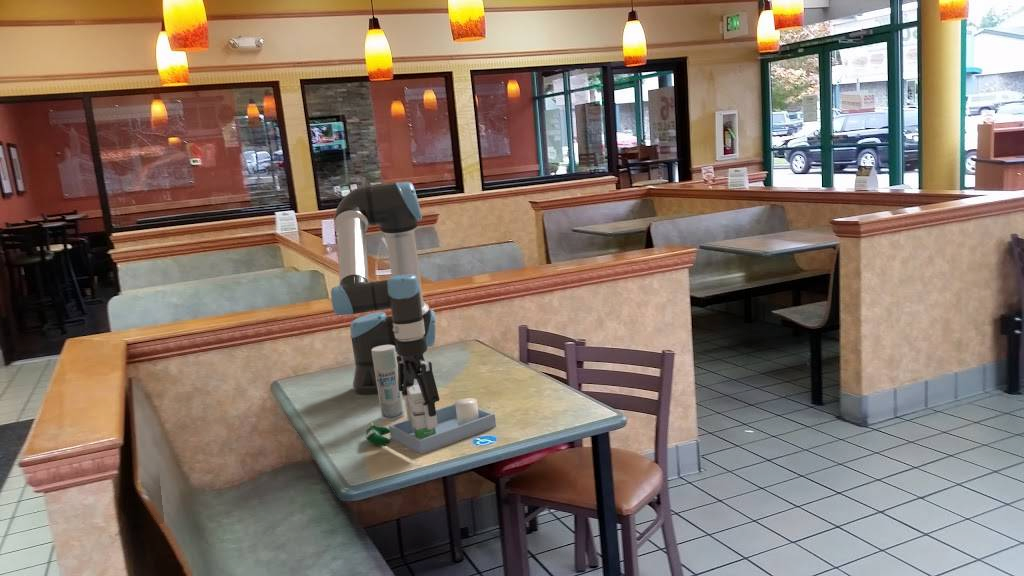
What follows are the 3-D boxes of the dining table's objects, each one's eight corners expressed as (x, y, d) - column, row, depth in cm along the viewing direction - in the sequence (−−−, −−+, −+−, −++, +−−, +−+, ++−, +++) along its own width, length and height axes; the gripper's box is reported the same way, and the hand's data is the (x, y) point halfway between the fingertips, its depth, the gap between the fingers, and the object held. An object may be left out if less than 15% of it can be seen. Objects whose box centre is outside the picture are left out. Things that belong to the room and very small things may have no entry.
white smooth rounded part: (453, 429, 196) (450, 402, 195) (470, 422, 200) (467, 396, 198) (467, 432, 192) (464, 406, 191) (484, 426, 195) (481, 400, 194)
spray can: (404, 411, 217) (394, 343, 213) (405, 418, 210) (395, 348, 207) (381, 414, 216) (371, 346, 212) (381, 422, 209) (371, 352, 206)
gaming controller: (383, 441, 201) (364, 428, 199) (392, 430, 200) (373, 417, 199) (382, 454, 192) (363, 441, 190) (391, 442, 191) (372, 429, 190)
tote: (391, 440, 195) (388, 425, 194) (462, 415, 207) (461, 401, 207) (421, 456, 182) (419, 441, 181) (496, 429, 195) (494, 414, 194)
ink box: (437, 436, 189) (430, 391, 187) (417, 440, 188) (410, 395, 186) (430, 425, 197) (424, 381, 195) (411, 429, 196) (405, 385, 194)
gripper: (376, 334, 195) (389, 417, 199) (419, 347, 177) (431, 438, 181) (402, 328, 199) (414, 409, 203) (446, 340, 181) (458, 428, 185)
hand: (422, 423), depth 192 cm, fingers closed on ink box, 9 cm apart
